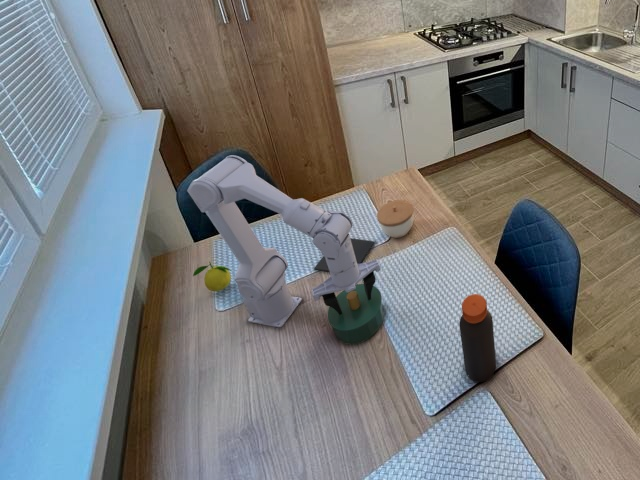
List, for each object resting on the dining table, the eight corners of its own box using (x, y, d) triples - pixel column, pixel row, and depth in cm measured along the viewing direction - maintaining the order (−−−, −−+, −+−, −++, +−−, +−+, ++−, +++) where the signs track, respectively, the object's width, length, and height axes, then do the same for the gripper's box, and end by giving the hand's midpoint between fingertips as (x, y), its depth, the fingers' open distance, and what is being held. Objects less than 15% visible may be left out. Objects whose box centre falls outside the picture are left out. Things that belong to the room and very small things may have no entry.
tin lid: (317, 328, 92) (312, 314, 90) (347, 283, 103) (343, 270, 101) (365, 337, 90) (361, 323, 88) (391, 290, 101) (388, 277, 99)
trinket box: (380, 246, 120) (374, 222, 116) (382, 221, 129) (376, 198, 125) (417, 239, 122) (412, 215, 118) (416, 215, 131) (412, 192, 127)
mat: (314, 269, 113) (313, 268, 113) (339, 238, 124) (338, 236, 123) (353, 275, 111) (352, 274, 110) (374, 243, 121) (374, 241, 121)
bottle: (500, 356, 90) (496, 294, 81) (489, 387, 84) (483, 325, 75) (472, 347, 92) (465, 286, 83) (459, 377, 86) (450, 314, 77)
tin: (325, 339, 95) (320, 324, 92) (351, 298, 104) (347, 283, 102) (369, 348, 92) (364, 332, 90) (391, 304, 102) (387, 290, 100)
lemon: (202, 294, 107) (188, 267, 103) (224, 276, 112) (211, 250, 107) (219, 302, 105) (205, 275, 100) (240, 284, 109) (228, 257, 105)
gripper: (310, 291, 83) (325, 334, 89) (379, 259, 90) (389, 300, 96) (304, 268, 89) (319, 310, 94) (370, 239, 96) (380, 280, 101)
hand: (354, 303), depth 96 cm, fingers open, 6 cm apart
